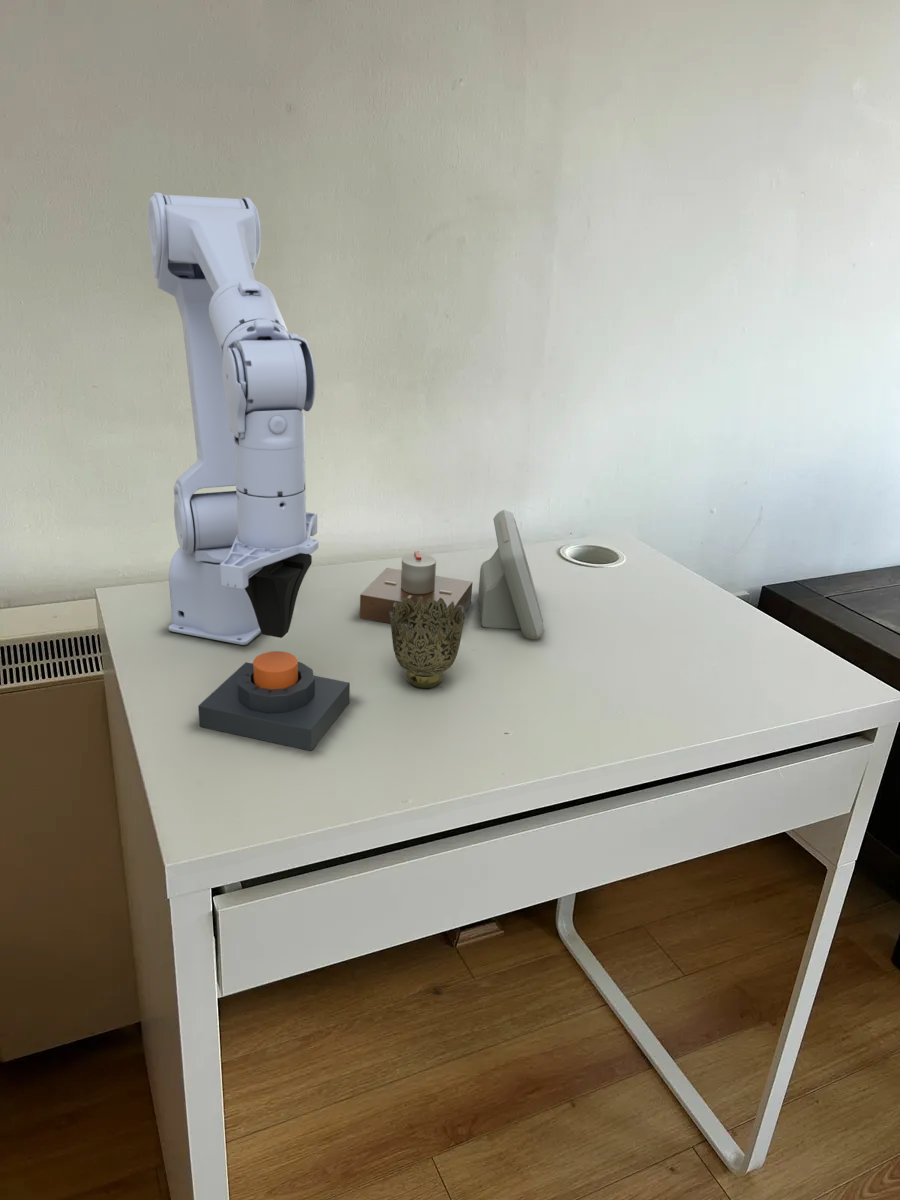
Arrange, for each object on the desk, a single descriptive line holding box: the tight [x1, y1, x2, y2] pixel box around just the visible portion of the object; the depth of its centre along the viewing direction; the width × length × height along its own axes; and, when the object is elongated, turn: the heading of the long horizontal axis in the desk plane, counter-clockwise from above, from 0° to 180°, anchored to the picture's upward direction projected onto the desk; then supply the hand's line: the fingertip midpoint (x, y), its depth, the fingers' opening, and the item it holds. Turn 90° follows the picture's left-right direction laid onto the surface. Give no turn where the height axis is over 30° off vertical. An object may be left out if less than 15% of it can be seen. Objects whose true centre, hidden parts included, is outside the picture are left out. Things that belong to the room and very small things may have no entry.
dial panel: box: [359, 567, 473, 625], centre depth 106 cm, size 11×9×3 cm
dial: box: [400, 550, 437, 594], centre depth 105 cm, size 4×4×4 cm
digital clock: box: [477, 509, 545, 640], centre depth 106 cm, size 16×9×11 cm, turn 169°
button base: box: [198, 661, 351, 752], centre depth 84 cm, size 11×9×4 cm
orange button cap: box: [252, 650, 299, 690], centre depth 82 cm, size 4×4×2 cm
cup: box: [389, 596, 466, 689], centre depth 90 cm, size 8×7×8 cm
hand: (274, 633), depth 81 cm, fingers closed
